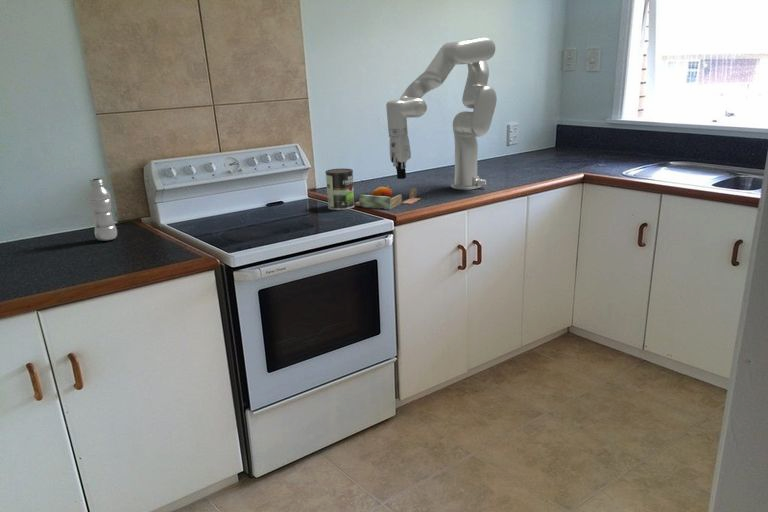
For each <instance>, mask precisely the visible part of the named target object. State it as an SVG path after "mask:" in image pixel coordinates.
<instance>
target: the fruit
mask: <svg viewBox="0 0 768 512" xmlns="http://www.w3.org/2000/svg"><path fill="white" fill-rule="evenodd" d="M370 195H372V196H385V197H391V198H393V191H392V189H389V188H387V187H386V186H379V187H377V188H376V189H374V190H373V191H372V192H371V194H370Z"/></svg>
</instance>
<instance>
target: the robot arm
mask: <svg viewBox="0 0 768 512" xmlns="http://www.w3.org/2000/svg"><path fill="white" fill-rule="evenodd" d="M495 54H496V44H495V42H494V40H492V39H491V38H489V37H480V38H479V37H478V38H477V37H476V38H469V39H466V40H460V41H450V42H446V43H444V44H443V45H442V46H441V47H440V48H439V50H438V52H437V53H436V54H435V55H434V57H433V59H432V60H431V61H430V63H429V64H428V66H427V67H426V69H425V70H424V71H423V72H422V73H421V74H420V75H419V76H418V77H416V78H415V80H413V81H412V82H411V83H410V84H409V85H407V87H406V89H405V90H404V92H403V93H402V95H400V98H399V99H394V100H389V101H387V102H386V118H387V127H388V128H387V130H388V138H389V157H390V162H391V163H392V166H393V167H395V169H396V178H397V179H398V180H404V179H407V172H406V167H407V162H408V161H409V160H410V159H411V158H412V153H411V144H410V139H409V133H408V132H409V130H408V122H407V121H408V120H407V119H408V118H409V119H410V118H421V117H423V116H424V115H425V114H426V112H427V109H428V104H427V103H426V101H425V100H424V99H423V97H424V96H425V95H426V94H427V93H430V92H431V91H433V90H435V89H437V88H439V87H440V86H442V85H443V83H444V82H445V81H446V80H447V78H448V76H449V74H450V73H451V72H452V70H453V69H454V67H455V66H456V65H467V69H468V72H467V77H466V81H465V86H464V89H463V93H462V98H461V99H462V100H461V101H462V104H463V106H464V107H465V108H467V109H471V110H473V111H467V110H466V111H460V112H458V113H457V114H455V116H454V117H453V121H452V131H453V137H454V182H452V183H451V184H450V187H451V188H452V189H454V190H455V189H456V190H461V191H462V190H464V191H465V190H467V191H468V190H469V191H470V190H475V189H476V190H477V189H479V188H481V187H482V186H481V185H485V186H486V185H487V180H486V179H485V178H483V179H481V178H480V176H479V175H478V151H479V150H478V149H479V148H478V147H479V145H478V139H477V138H480V137H483V136H485V135H486V134H487V133H488V131H490V127H491V125H492V121H493V117H494V112H495V109H496V106H497V101H498V100H497V92H496V91H495V89H494V88H493V87H492V86H490V85H488V81H489V78H490V69H489V64H488V62H487V61H488V60H491V58H493V57H494V55H495Z"/></svg>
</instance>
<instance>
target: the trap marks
mask: <svg viewBox="0 0 768 512" xmlns="http://www.w3.org/2000/svg"><path fill="white" fill-rule="evenodd" d="M420 199H421V200H422V198H420V197H414V198H410V199H409V198H408V199H406V200H404V201H402V204H404V205H412V204H415V203H417V202H418V200H419V201H421V200H420ZM359 204H360V200H359V201H357V202H354V205H359ZM402 204H401V205H402Z"/></svg>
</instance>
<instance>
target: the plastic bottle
mask: <svg viewBox="0 0 768 512" xmlns="http://www.w3.org/2000/svg"><path fill="white" fill-rule="evenodd" d="M89 185H90V187H91V188H90V190H89V192H88V196H87V198H88V201H89V204H90V207H91V210H92V213H93V221H94V235H95V236H94V237H95V238H96V239H97V240H98V241H105V242H106V241H111V240H114V239H116V238H117V236H118V229H117V226H116V225H115V221H114V218H113V217H114V216H113V212H112V195H111V192H110V191H109V190H108V189H107V188H106V187H105V186H104V185H105V182H104V179H103V178H101V177H100V178H99V177H98V178H92V179H89Z"/></svg>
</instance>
